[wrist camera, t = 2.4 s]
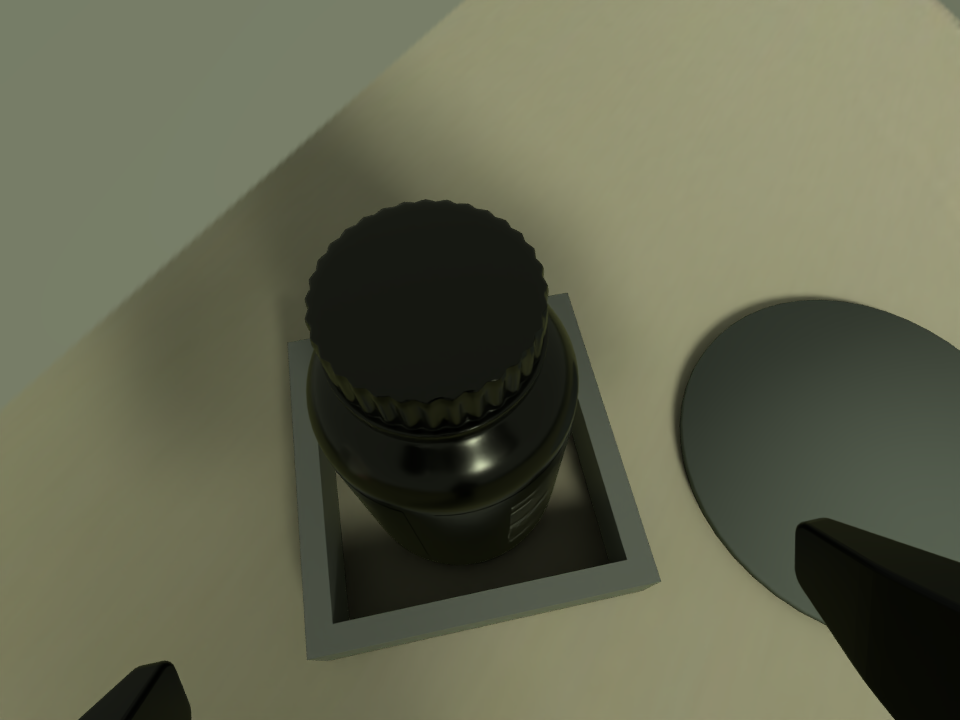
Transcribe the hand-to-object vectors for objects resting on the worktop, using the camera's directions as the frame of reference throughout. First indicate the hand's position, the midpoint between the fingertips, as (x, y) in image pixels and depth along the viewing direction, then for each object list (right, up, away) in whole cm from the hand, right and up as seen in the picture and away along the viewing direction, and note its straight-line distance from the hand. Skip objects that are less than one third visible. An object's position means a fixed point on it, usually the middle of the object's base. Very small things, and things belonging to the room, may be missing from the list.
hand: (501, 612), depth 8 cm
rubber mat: (+14, 0, +14) cm, 19 cm away
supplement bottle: (-1, -1, +14) cm, 14 cm away
